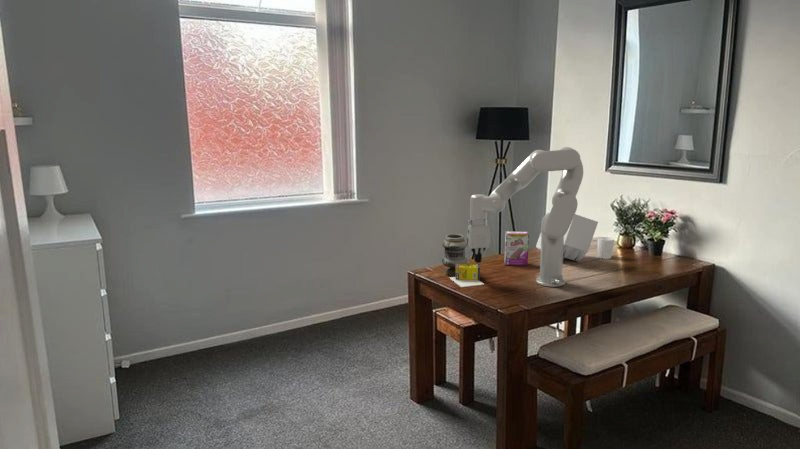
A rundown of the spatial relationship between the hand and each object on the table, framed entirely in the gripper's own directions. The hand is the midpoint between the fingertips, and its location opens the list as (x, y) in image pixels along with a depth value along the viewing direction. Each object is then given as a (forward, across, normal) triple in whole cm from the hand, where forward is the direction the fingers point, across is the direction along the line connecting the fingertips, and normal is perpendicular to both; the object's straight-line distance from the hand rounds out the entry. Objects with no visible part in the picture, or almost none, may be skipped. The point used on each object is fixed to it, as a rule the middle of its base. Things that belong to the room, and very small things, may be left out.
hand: (477, 261), depth 243 cm
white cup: (+9, +78, +13) cm, 80 cm away
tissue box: (+9, +56, +16) cm, 59 cm away
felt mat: (+9, -6, 0) cm, 10 cm away
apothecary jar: (+9, -5, +15) cm, 18 cm away
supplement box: (+5, +2, +1) cm, 6 cm away
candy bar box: (+9, +29, +17) cm, 35 cm away
